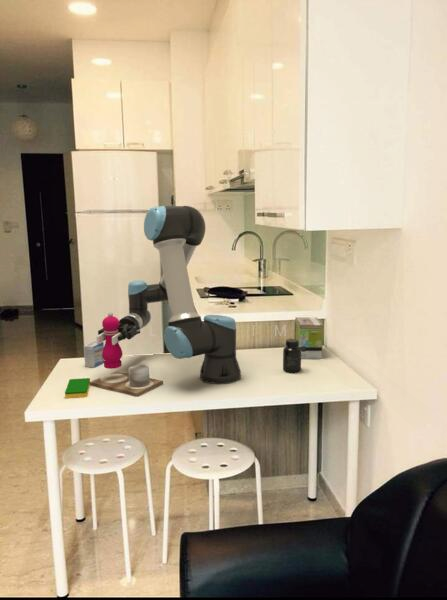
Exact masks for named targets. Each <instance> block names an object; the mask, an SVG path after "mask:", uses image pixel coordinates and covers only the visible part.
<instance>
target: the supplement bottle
mask: <svg viewBox="0 0 447 600" xmlns="http://www.w3.org/2000/svg"><path fill="white" fill-rule="evenodd" d="M298 346H299V341H298V340H296V339H295V338H289V339H286V341H285V346H284V347H283V350H282V370H283V371H284V372H285V373H287V374H297V373H300V372H301V369H302V359H301V349H300V348H299V347H298Z"/></svg>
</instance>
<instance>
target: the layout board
mask: <svg viewBox="0 0 447 600" xmlns="http://www.w3.org/2000/svg"><path fill="white" fill-rule="evenodd" d="M162 385H164V380H160V379H156V378H153V377H150V366H149V365H146V364H135V365H131V366H130V367H128V373H127V372H123V371H118V370H117V371H114V372H111V373H108V374H106V375H103V376H101V377H99V378H97V379H95V380H92V381H91V380H90V386H91V387H96V388H99V389H104V390H109V391H113V392H116V393H120V394H124V395H125V394H126V395H130V396H134V397H136V398H137V397H141V396H143V395H144V394H146V393H148V392H150V391H152V390H155V389H156V388H159V387H160V386H162Z"/></svg>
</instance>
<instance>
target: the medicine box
mask: <svg viewBox="0 0 447 600" xmlns="http://www.w3.org/2000/svg"><path fill="white" fill-rule="evenodd" d="M104 342H105V341H103V342H101V343H100V344H97V340H96V341H93V342H91V343H88V344H87V345H83V355H84V366H85V367H86V368H97V367H99V366H100V365H102V364H104V361H105V360H104V359H103V357H102V351H103V348H104V346H105V343H104Z"/></svg>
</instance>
